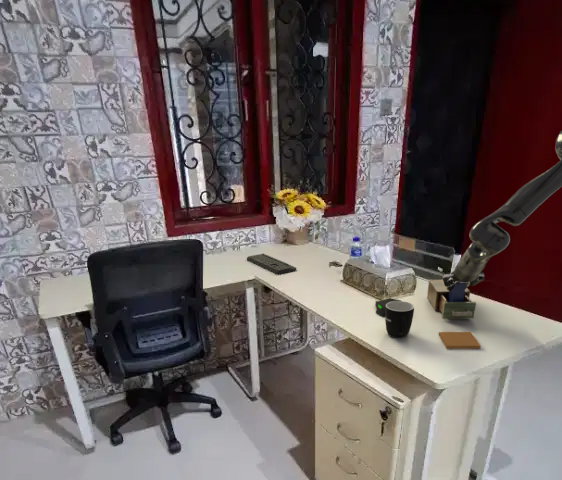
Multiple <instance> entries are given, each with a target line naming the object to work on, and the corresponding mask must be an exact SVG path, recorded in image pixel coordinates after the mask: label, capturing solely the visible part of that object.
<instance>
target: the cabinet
mask: <svg viewBox="0 0 562 480" xmlns="http://www.w3.org/2000/svg"><path fill="white" fill-rule="evenodd" d="M464 293H465V294H466V295H467V296H468V297H469V298H470V297H471V291H470V289H468V287H467V288H466V289H465V292H464ZM426 294H427V296H426V299H427V301H428V302H429V304H430V306H431V308H432V309H433V311H434V312H441V311H440V309H439V308H438V298H439V294H449V291H448V290H447V286H445V285H444V282H443V279H429V280H428V285H427V293H426Z"/></svg>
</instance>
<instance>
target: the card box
mask: <svg viewBox="0 0 562 480" xmlns="http://www.w3.org/2000/svg"><path fill="white" fill-rule="evenodd" d="M465 286H466V285H465V282H460V283H459V284H457V285H454V286H453V288H452V290H451V291H449V296H448V302H463V299H464V292H465Z"/></svg>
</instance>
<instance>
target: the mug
mask: <svg viewBox="0 0 562 480" xmlns="http://www.w3.org/2000/svg"><path fill="white" fill-rule="evenodd" d="M414 313H415V305H414V304H413V303H411V302H409V301H404V300H401V301H392V302H389V303H387V304H386V307H385V317H384V318H385V319H384V320H385V330H386V333H387V334H388V335H389V337H391V338H395V339H402V338H403V339H404V338H406V337H407V336H408V335H409V333H410V331H411V327H412V324H413V320H414Z"/></svg>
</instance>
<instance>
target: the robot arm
mask: <svg viewBox="0 0 562 480" xmlns="http://www.w3.org/2000/svg"><path fill="white" fill-rule="evenodd" d="M554 150H555V153H556V156H557V158H558V159H559V161H558V162H557V163H556V164H555V165H553V166H551V167H550V168H549V169H547V170H546V171H545V172H543V173H541V174H540V175H538V176H536V177H535V178H533V179H531V180H530V181H528V182H526V183H525V184H524V185H522V186H521V187H520V188H519V189H518V190H516V192H515V193H513V194H512V196H511V197H510V198H508V199H507V201H505V203H504V204H503V205H502V206H500V207H499V208H498V209H496V210H495V211H493V212H492V213H490V214H489V215H487V216H485V217H484V218H481V219H480V220H478V221H477V222H476V223H474V225H473V226H472V227H471V228H470V230H469V234H468V235H469V239H470V241H472V242H471V243H470V244H469V245H468V246H467V249H466V250H465V252H464V253H463V254H462V255H461V257H460V258H459V260H458V262H457V263H456V265H455V266H454V269H453V271H451V272H450V273H446V272H442V280H443V282H444V285H445V286H447V290H448V291H451V290H452V288H453V286H454V285H457V284H459V283H460V282H465V285H466V286H465V289H466V288H468V287H469V286H471V287H475V286H476V285H478V284H479V283H481V282H483V281H485V273H484V271H483V270H484V269H485V267H486V265H487V263H488V261H490V259H491V258H492V257H494V256H496V255H498V254H500V253H501V252H502V251H504V250H505V249H506V248H507V247H508V246H509V244H510V242H511V237H510V234H509V232H507V231H506V230H504V229H503V228H502V227H501V226H499V225H498V224H497V223H505V224H507V225H510V226H513V227H517V226H520V225H521V224H522V223H523V222H524V221H525V220H527V218H528V217H530V215H532V213H534V211H536V210H537V208H539V206H541V205H542V204H543V203H544V202H545V201H546V200H548V199H549V197H551V196H552V195H553V194H554V193H556V191H558V190H559V189H560V188H562V130H560V131H559V133H558V135H557V136H556V138H555V143H554Z"/></svg>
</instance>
